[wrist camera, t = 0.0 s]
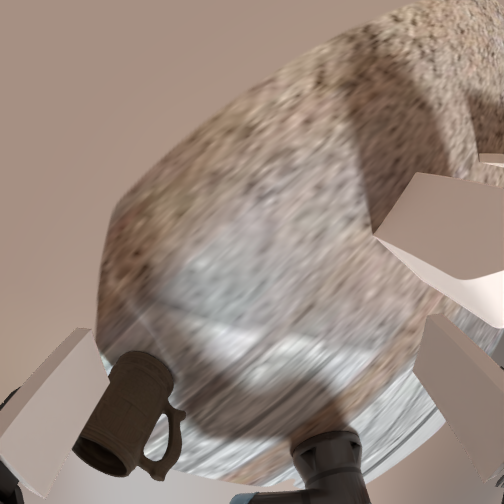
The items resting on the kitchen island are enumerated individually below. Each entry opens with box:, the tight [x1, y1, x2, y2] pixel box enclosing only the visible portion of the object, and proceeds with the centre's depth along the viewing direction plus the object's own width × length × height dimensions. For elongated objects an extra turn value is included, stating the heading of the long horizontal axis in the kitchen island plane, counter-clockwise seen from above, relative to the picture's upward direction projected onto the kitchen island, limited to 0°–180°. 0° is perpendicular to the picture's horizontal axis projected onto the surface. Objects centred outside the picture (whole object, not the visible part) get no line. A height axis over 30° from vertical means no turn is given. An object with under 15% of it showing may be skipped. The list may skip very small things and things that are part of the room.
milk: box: [373, 172, 504, 328], centre depth 24 cm, size 12×12×26 cm
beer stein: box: [72, 351, 186, 481], centre depth 34 cm, size 15×11×20 cm
